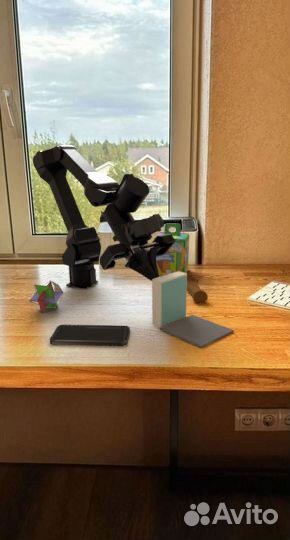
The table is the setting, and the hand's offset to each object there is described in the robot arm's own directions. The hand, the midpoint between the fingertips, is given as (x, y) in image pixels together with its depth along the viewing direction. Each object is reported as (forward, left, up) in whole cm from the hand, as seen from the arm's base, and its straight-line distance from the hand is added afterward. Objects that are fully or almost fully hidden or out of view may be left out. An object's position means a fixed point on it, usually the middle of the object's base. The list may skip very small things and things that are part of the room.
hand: (157, 282), depth 89 cm
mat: (+11, -4, -8) cm, 14 cm away
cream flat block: (+3, -1, -8) cm, 9 cm away
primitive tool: (+1, +19, -8) cm, 21 cm away
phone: (-8, -15, -8) cm, 19 cm away
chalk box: (-9, +31, -8) cm, 33 cm away
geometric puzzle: (-25, -8, -8) cm, 27 cm away
